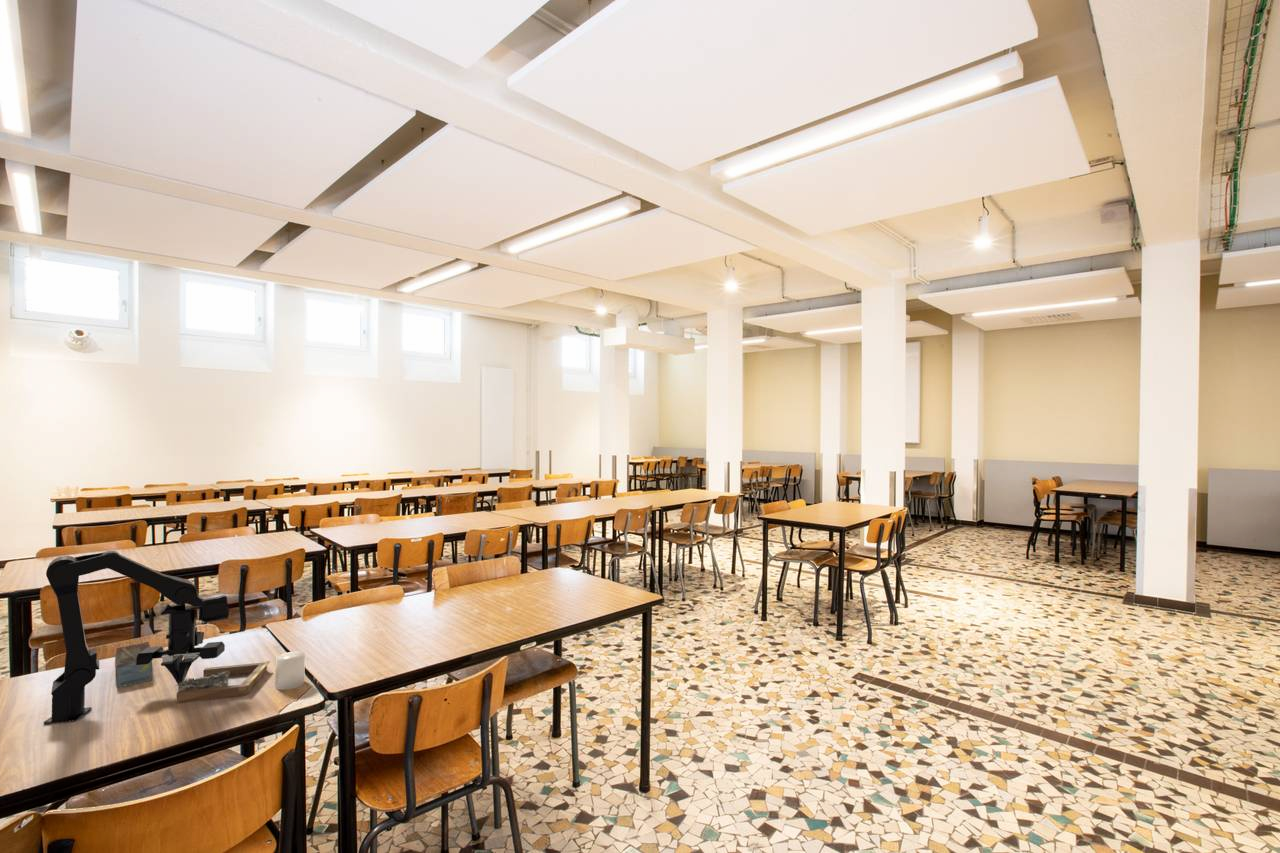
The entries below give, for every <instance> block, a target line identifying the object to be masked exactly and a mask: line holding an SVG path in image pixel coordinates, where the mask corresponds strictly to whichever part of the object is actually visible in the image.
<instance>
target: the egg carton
mask: <svg viewBox="0 0 1280 853" xmlns="http://www.w3.org/2000/svg"><path fill="white" fill-rule="evenodd" d="M229 674H230V671H228V672H227V671H225V672H221V673H218V675H212V676H209V677H203V676H202V677H198V678H193V677H191V678H190V677H189V678H188V679H187V678H185V680H184V681H183V682H182V683H181V682H180V684H176V686H178V687H177V693H178V692H179V691H184V690H193V689H203V688H213V687H222V686H229V678H228V677H230V676H229Z"/></svg>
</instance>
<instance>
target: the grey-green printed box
mask: <svg viewBox="0 0 1280 853" xmlns="http://www.w3.org/2000/svg"><path fill="white" fill-rule="evenodd" d="M150 645H151V644H150V643H149V641H146V642H142V643H137V644H131V645H127V646H121V647H117V648H116V650H115V655H114V657H115V658H114V667H115V668H114V670H115V678H116V679H115V681H116V686H117V688H121V687H120V686H122V687H125V686H124V685H127V686H131V685H135V683H136V684H140V683H144V682H149V681H153V660H152V661H151V662H150V663H149V664H143V665H135V658H136V655H137V654H139V653H140V652H142V651H143V650H145V649H146V648H149V647H151V646H150ZM130 684H131V685H130Z"/></svg>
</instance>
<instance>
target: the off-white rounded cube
mask: <svg viewBox="0 0 1280 853" xmlns="http://www.w3.org/2000/svg"><path fill="white" fill-rule="evenodd" d="M305 660H306V654H305V652H304V651H299V650H296V651H290V652H284V653H282V654H279V655H277V656H276V657H275V674H274V676H275V678H274V679H275V682H274V685H275V686H274V688H275V690H278V691H287V690H288V691H289V690H294V689H297V688H299V687H301V686H303V685H304V684H305V678H306V677H305V668H306V667H305V665H306V664H305V662H306V661H305Z"/></svg>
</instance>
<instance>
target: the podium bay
mask: <svg viewBox="0 0 1280 853" xmlns="http://www.w3.org/2000/svg"><path fill="white" fill-rule="evenodd" d="M270 662H271V660H267V661H265V662H254V663H243V664H242V663H241V664H233V665H223V666H212V667H205V668H204V669H203V674H202V677H209V676H212V675H218V673H221V672H225V671H227V672H228V671H230V674H229V676H228V677H235V676H243V675H245V676H246V675H248V676H247V677H246V678H245V679H244V680H243V681H242V683H241V684H235V685H228V686H222V687H213V688H203V689H193V690H184V691H179V692H178V691H177V692H176V704H179V703H188V702H189V703H190V702H199V701H208V700H209V701H210V700H218V699H227V698H235V697H245V696H246V695H247V694H248V693H249V692H250V690H252V688H253V687H254V686H255V685H256V684H257V682H259V681H260V679H261V678H262V676H264V675H265V673H267V669H268V665H269V664H270Z"/></svg>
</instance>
